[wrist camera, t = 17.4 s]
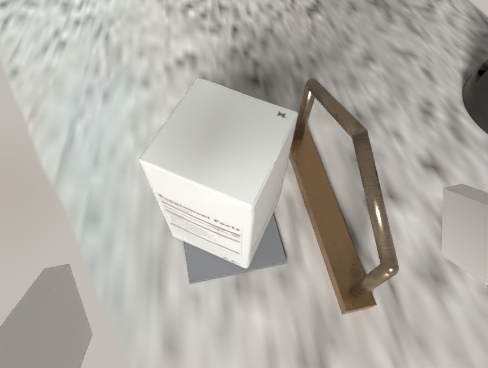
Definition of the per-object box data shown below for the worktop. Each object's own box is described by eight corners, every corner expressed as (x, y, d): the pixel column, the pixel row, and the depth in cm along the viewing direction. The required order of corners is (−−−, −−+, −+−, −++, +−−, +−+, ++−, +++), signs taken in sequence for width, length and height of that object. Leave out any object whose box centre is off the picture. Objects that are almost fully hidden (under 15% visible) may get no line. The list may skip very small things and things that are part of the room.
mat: (262, 181, 41) (263, 178, 41) (286, 263, 36) (286, 261, 36) (177, 196, 40) (176, 194, 39) (190, 283, 35) (189, 282, 35)
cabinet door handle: (304, 131, 45) (332, 33, 32) (371, 307, 34) (451, 264, 22) (282, 135, 44) (301, 37, 32) (342, 314, 34) (407, 275, 21)
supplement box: (209, 170, 41) (197, 71, 28) (280, 199, 39) (303, 109, 26) (169, 236, 37) (133, 158, 24) (247, 272, 35) (254, 209, 22)
